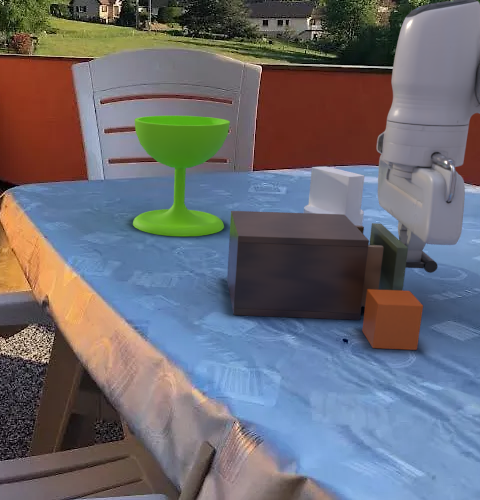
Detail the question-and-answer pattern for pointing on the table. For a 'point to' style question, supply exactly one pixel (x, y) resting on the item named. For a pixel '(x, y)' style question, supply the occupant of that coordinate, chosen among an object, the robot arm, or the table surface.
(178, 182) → the wineglass
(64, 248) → the table surface
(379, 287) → the drawer
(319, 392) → the table surface
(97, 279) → the table surface
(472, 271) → the table surface
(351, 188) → the base with upright slab
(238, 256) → the cabinet
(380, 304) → the burnt orange cube
